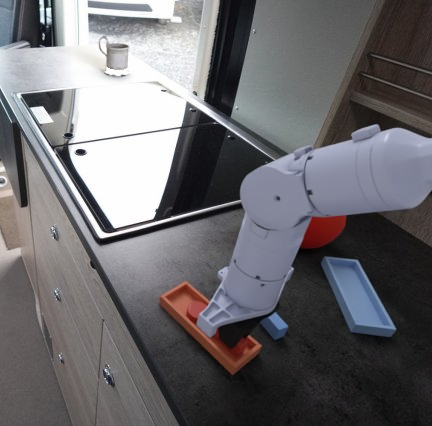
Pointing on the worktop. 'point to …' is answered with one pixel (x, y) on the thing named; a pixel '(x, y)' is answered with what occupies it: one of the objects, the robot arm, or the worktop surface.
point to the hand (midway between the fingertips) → (231, 338)
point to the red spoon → (193, 314)
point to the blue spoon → (275, 326)
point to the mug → (116, 55)
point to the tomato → (322, 231)
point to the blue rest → (357, 297)
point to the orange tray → (177, 307)
